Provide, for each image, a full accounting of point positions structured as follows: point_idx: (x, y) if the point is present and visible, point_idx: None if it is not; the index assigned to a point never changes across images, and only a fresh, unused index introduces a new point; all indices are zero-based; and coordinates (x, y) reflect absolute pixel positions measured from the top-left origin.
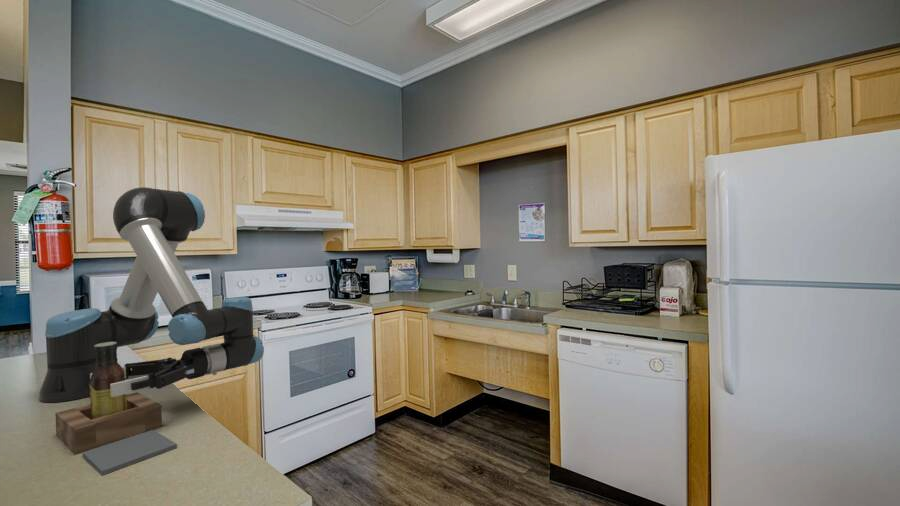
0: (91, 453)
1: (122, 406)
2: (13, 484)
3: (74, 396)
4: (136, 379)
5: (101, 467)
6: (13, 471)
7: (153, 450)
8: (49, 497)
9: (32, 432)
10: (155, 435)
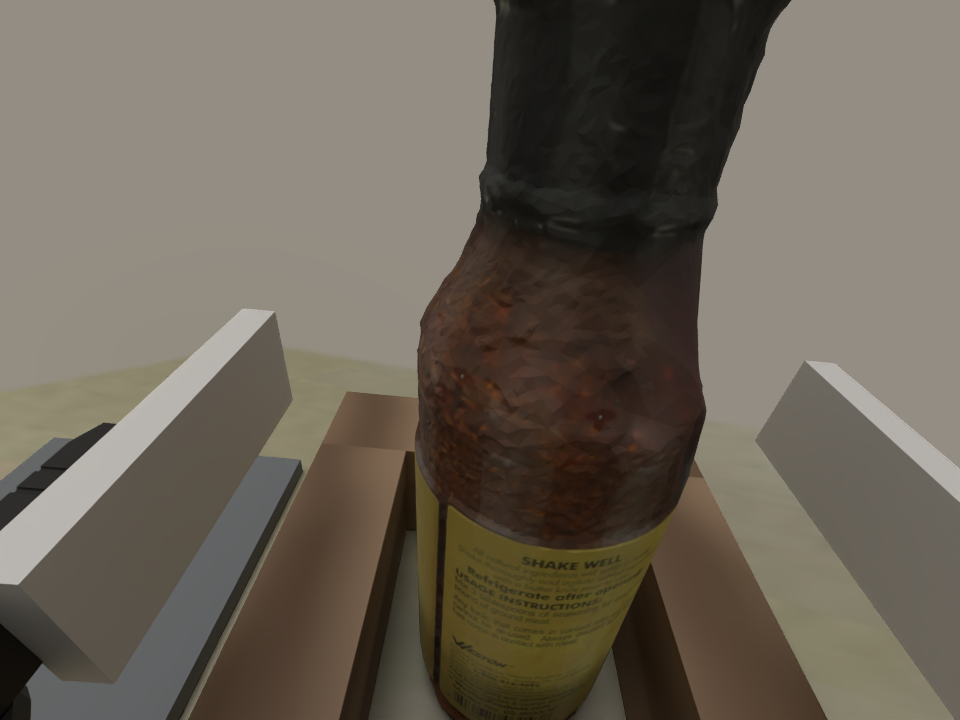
0: (252, 470)
1: (425, 605)
2: (326, 360)
3: None
4: (100, 447)
5: None
6: (413, 376)
7: None
8: (143, 367)
9: (747, 467)
10: None
